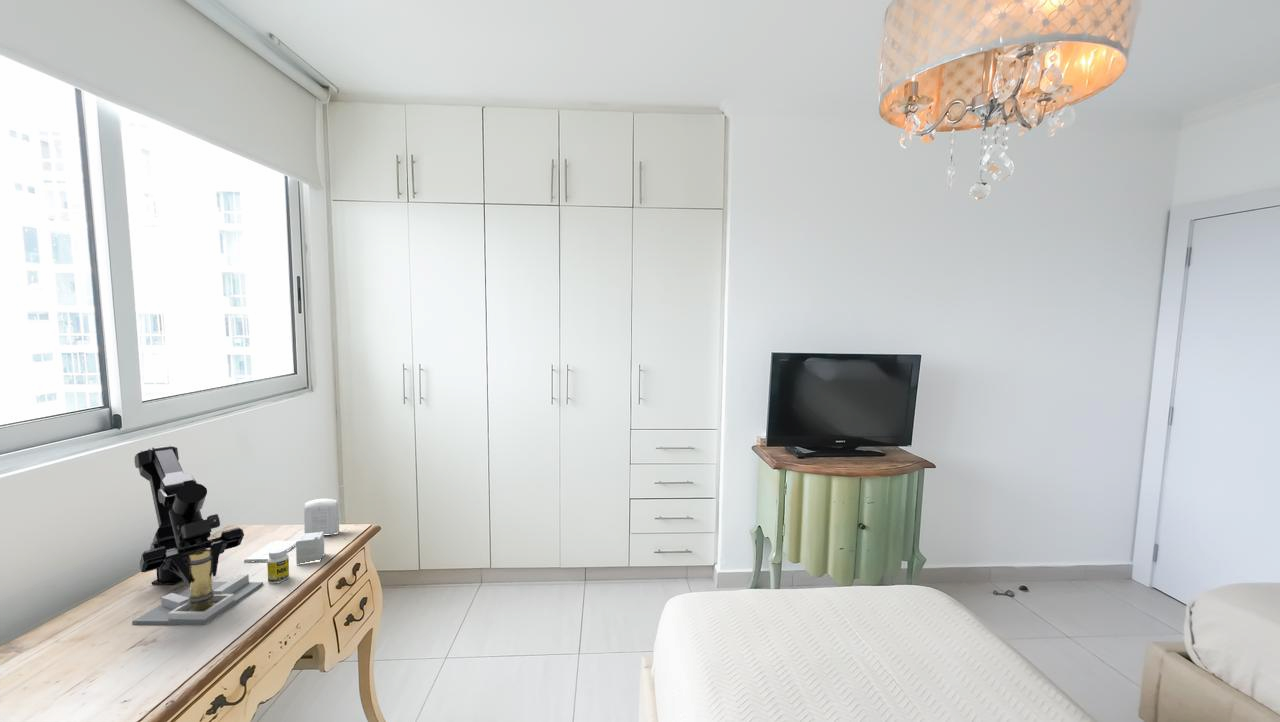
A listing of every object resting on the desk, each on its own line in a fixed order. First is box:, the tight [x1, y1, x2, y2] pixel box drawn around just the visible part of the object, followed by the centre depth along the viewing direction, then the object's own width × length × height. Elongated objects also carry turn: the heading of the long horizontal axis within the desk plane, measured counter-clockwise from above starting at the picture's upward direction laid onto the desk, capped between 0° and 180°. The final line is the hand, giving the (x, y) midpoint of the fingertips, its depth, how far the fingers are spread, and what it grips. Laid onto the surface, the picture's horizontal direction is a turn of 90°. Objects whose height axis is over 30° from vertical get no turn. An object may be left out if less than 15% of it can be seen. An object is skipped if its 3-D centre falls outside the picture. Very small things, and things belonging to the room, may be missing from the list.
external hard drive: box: [243, 540, 297, 563], centre depth 152 cm, size 2×8×12 cm
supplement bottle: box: [266, 547, 290, 584], centre depth 136 cm, size 5×5×8 cm
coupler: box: [188, 548, 214, 612], centre depth 120 cm, size 4×4×14 cm
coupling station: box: [131, 573, 264, 626], centre depth 124 cm, size 17×18×3 cm
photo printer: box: [303, 498, 340, 534], centre depth 166 cm, size 10×4×12 cm, turn 103°
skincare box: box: [295, 532, 325, 565], centre depth 148 cm, size 6×6×7 cm
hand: (202, 579), depth 119 cm, fingers open, 4 cm apart
